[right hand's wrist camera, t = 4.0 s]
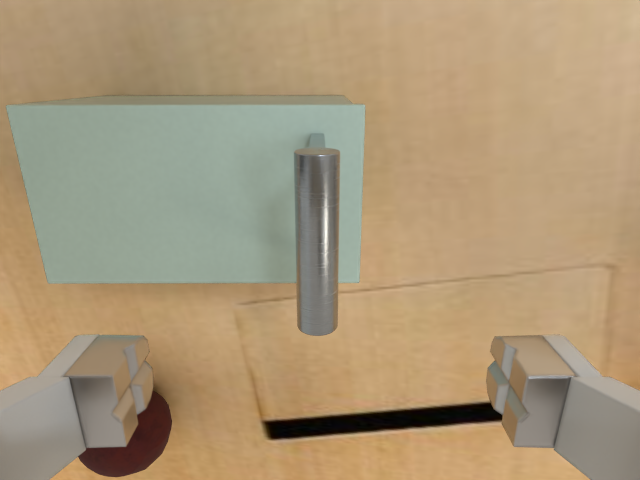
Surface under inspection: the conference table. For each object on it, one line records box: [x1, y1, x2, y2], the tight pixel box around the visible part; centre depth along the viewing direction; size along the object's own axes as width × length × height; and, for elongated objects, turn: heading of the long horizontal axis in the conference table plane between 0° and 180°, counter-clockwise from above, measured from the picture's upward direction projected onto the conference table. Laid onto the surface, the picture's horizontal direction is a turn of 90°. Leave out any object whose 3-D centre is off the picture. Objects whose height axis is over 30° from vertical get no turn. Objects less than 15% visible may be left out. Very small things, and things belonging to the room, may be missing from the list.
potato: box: [78, 391, 172, 477], centre depth 38 cm, size 7×8×7 cm
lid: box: [6, 104, 365, 336], centre depth 21 cm, size 18×10×8 cm, turn 90°
